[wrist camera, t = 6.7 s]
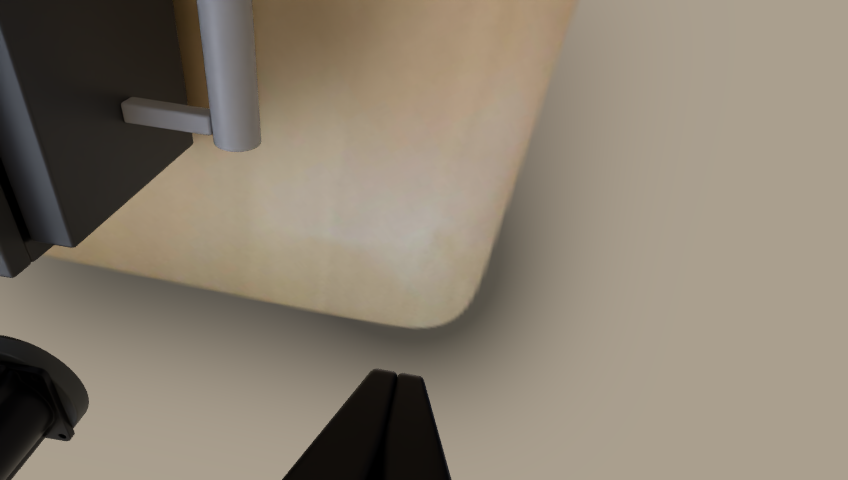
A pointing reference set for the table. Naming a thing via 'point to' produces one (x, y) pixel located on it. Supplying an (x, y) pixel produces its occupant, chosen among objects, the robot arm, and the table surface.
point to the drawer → (112, 103)
